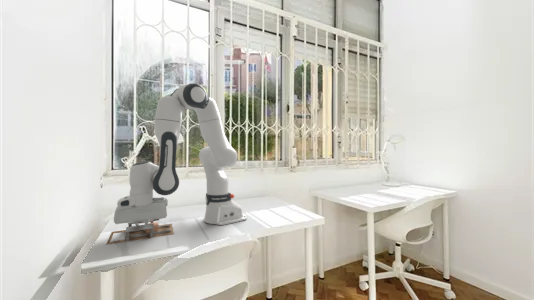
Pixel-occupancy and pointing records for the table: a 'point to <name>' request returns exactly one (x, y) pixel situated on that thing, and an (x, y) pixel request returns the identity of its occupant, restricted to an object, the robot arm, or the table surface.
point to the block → (155, 227)
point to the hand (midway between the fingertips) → (141, 230)
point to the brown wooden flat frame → (142, 232)
